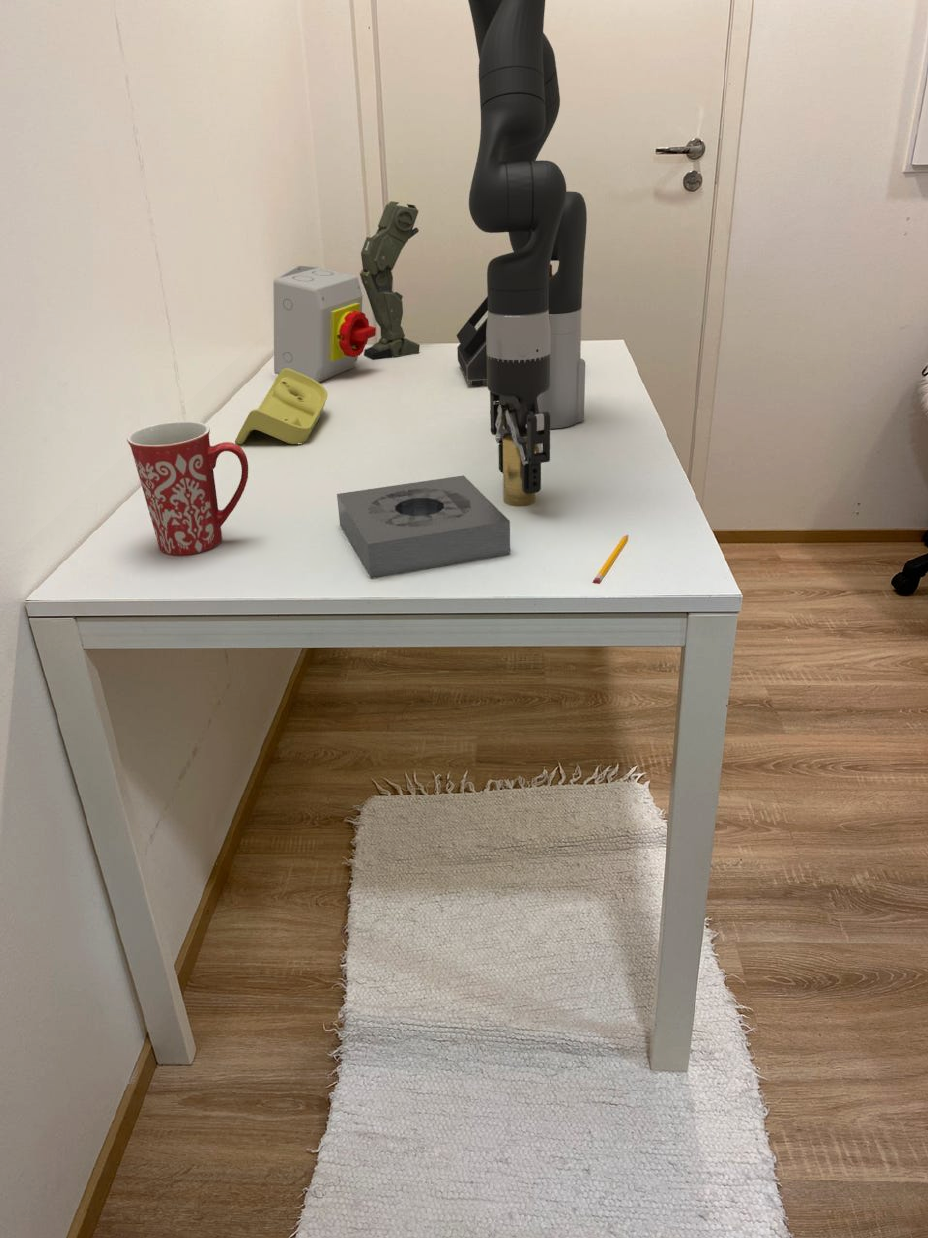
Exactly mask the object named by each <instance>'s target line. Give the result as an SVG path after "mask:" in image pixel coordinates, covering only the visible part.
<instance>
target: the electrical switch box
mask: <svg viewBox="0 0 928 1238" xmlns="http://www.w3.org/2000/svg"><path fill="white" fill-rule="evenodd" d="M376 329H377V328H376V327H375V326H372V325H370V322H369V319H368V317H367V315H366V313H364V312H363V292H362V287H361V285H360V281H359V277H358V276H357V275H353V274H350V273H345V272H341V271H337V270H336V271H335V270H331V269H328V268H322V267H318V266H308V265H298V264H297V265H295V266H293V267H291V268H289V269H288V270H286V271H285V272H283V273H281V274H279V275H278V276H276V277H275V278H274V279H273V371H274V374H275V375H277V376H278V375H279V373H280V372H281V371H282V370H283V369H286V368H289V369H291V370H294V371H296V372H298V373H301V374H303V375H305V376H307V377H309V378H311V379H313V380H315V381H317V382H318V383H321V382H324V381H326V380H329V379H331V378H333V377H335V376H337V375H340V374H342V373H344V372H346V371H348V370H350V369H353V368H355V366H356V363H357V360H358V358H359V356H362V353H364V350H365V348H366V345H367V343H368V340H369V339H371V338H374V337H375V336H376V334H377V333H376V332H377V330H376Z"/></svg>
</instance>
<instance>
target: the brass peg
mask: <svg viewBox="0 0 928 1238" xmlns="http://www.w3.org/2000/svg"><path fill="white" fill-rule="evenodd" d="M522 438H527V437H522ZM526 449H527V446H526ZM522 464H523V463H522V459H521V455H520V450H519V448H517V447H515V445H514V442H513V437H512V435H509V436H506V437H504V438H503V473H502V483H503V484H502V485H503V489H502V490H503V503H504V504H506V505H508V506H513V507H525V506H530V505H532V504H534V503H535V501H536V493H531V494H526V493H524V492H523V491H522Z"/></svg>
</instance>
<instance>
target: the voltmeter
mask: <svg viewBox="0 0 928 1238" xmlns="http://www.w3.org/2000/svg"><path fill="white" fill-rule="evenodd" d="M553 275H554V274H553V265H552V264H551V263H550V270H549V278H550V277H551V276H553ZM487 319H488V295H487V297H485V299H484V300H483V301H482V303H480V305H479V306H478V307H477V309H476V310H475V311H474V312H473V314H471V316H470V317H469V318H468V320H467V321H466V322H465V323H464V325H463V326H462V327H461V329H460V330H459V331H458V332H457V334H456V337H457V339H458V341H459V342H458V343H459V345H458V346H457V347H456V350H457V361H458V364H459V366H460V368H461V371H462V372H463V373H462V374H463V375H464V378H465V380H466V381H467V382H471V386H473V387H481V386H483V385H484V381H487V351H486V328H487Z"/></svg>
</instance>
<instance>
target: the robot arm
mask: <svg viewBox="0 0 928 1238" xmlns="http://www.w3.org/2000/svg"><path fill="white" fill-rule="evenodd" d="M467 1H468V6H469V10H470V15H471V19H472V24H473V30H474V36H475V43H476V49H477V54H478V60H479V61H478V84H479V85H478V86H479V87H478V88H479V104H480V105H479V106H480V108H479V109H480V135H479V136H480V138H479V145H478V152H477V157H476V162H475V166H474V170H473V176H472V180H471V183H470V190H469V195H468V211H469V214H470V218H471V220H472V221H473V222H474V223H473V224H475V226H476V227H477V228H478V229H479V230H481V231H482V232H484V233H490V234H497V233H498V234H500V233H508V237H509V242H510V246H511V249H512V252H509V253H505V254H501V255H499V256H496V257H494V258H492V259H491V260H490V261H489V262H488V265H487V271H486V282H487V283H486V284H487V285H486V286H487V288H486V289H487V290H486V291H487V292H486V293H487V296H488V319H487V328H486V351H487V380H486V386H487V389H488V391H489V397H490V398H489V404H490V408H489V409H490V410H489V411H490V416H489V417H490V419H489V420H490V430H489V431H490V433H491V435H492V436H495V438H494V439H495V442H496V444H498V445H497V447H498V448H497V449H498V470H499V472H501V474H503V438H504V437H506V436H509V435H512V437H513V442H514V445H515V447H517V448H519V450H520V455H521V459H522V463H523V464H522V491H523V492H524V493H526V494H531V493H535V494H536V493H539V492H540V491H541V490H542V489H541V488H542V463H549V462H550V460H551V429H562V428H568V427H571V426H574V425H576V424H578V423H583V422H584V421H585V397H586V396H585V393H586V392H585V389H586V385H585V384H586V361H585V360H584V359H583V358H581V349H582V348H581V345H582V344H581V343H582V342H581V341H582V307H583V306H582V305H583V304H582V303H583V285H584V266H585V265H584V264H585V249H586V239H587V238H586V236H587V221H588V220H587V219H588V218H587V214H588V213H587V205H586V201H585V198H584V197H583V195H582V194H581V193H580V192H577V191H567V183H566V178H565V176H564V173H563V172H562V169H561V168H560V167H559V165H557V164H556V163H555V162H553V161H550V160H543V159H542V160H537V158H538V156H539V154H540V152H541V150H542V149H543V147H544V145H545V144H546V141H547V139H548V138H549V136H550V134H551V131H552V130H553V128H554V126H555V123H556V121H557V118H558V115H559V112H560V111H559V110H560V108H561V106H560V105H561V96H560V87H559V80H558V78H559V77H558V71H557V64H556V55H555V52H554V49H553V46H552V44H551V43H550V41H549V38H548V37H547V36H546V34H545V33H544V24H545V10H546V0H467ZM551 261H554V262H556V261H558V266H557V271H556V272H555V273H554V274H553V276H551V277H550V278H549V270H550V264H551ZM522 437H527V438H522ZM526 446H527V449H526Z"/></svg>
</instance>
